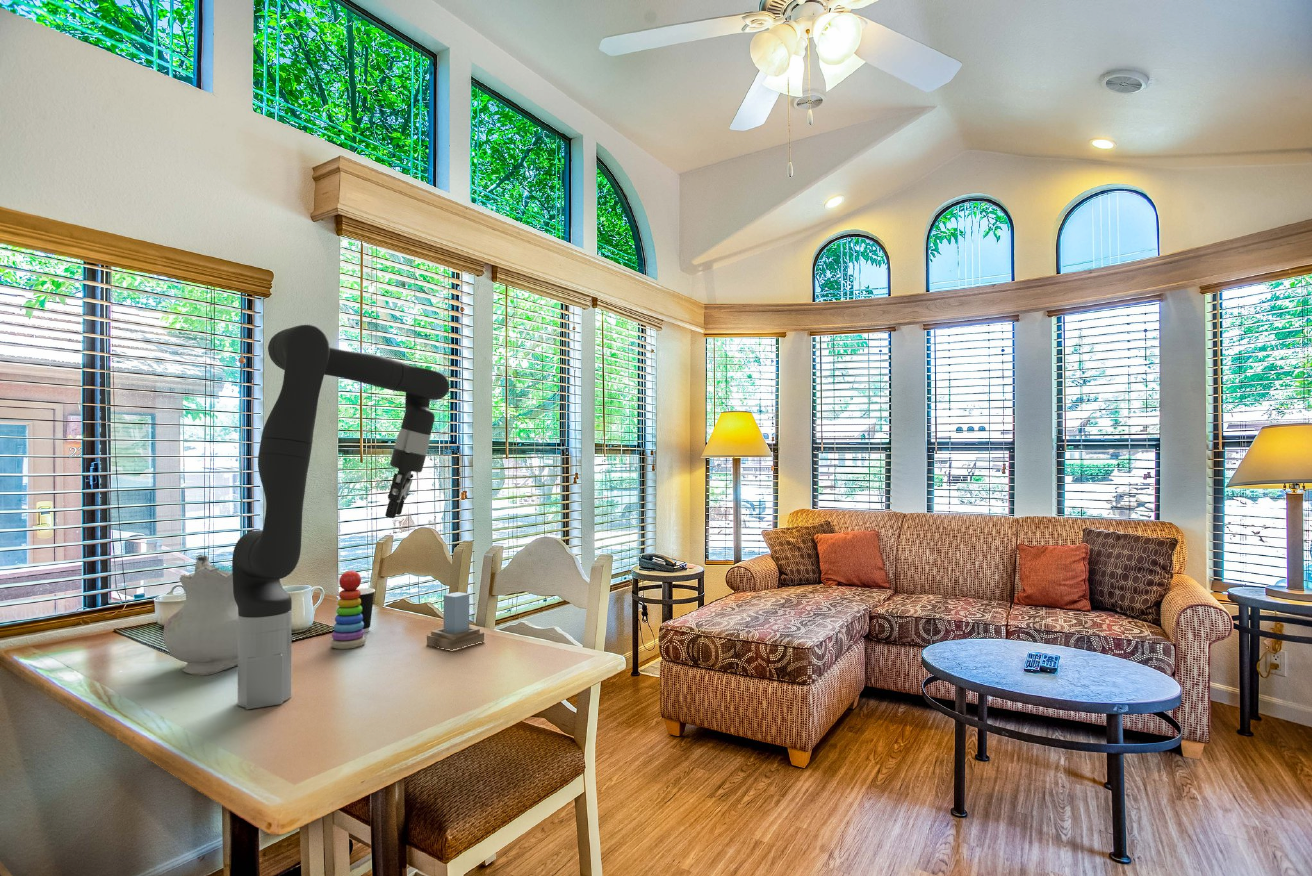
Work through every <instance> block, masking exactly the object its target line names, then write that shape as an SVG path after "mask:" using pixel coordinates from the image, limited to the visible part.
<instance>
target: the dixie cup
mask: <svg viewBox="0 0 1312 876" xmlns="http://www.w3.org/2000/svg"><path fill="white" fill-rule="evenodd" d="M357 590H359V591H360V592H361V595H360V596H359V597H358V598H359V599H360V600H361V604H360V606H361V607H362V612H361V614H362V615H363V619H362V621H363V623H364V627H363V628H362V629H363V630H364V634H365V633H368V632H369V631H370V627H371V622H372V615H373V607H374V606H373V605H374V597H375V592H376V589H375V588H370V587H358V588H357Z"/></svg>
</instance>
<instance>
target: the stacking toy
mask: <svg viewBox="0 0 1312 876" xmlns="http://www.w3.org/2000/svg"><path fill="white" fill-rule="evenodd" d="M338 582H339V587H340V589H342V590H341V591H339V593H338V597H339V599H338V601H337V603H336V604H337V606H338V607H337V608H336V609H335V611H336V612H335V613H336V615H335V618H334V621H335V623H334V624H333V630H334V631H333V632H332V633H331V639H332V640H331V641H330V646H331V647H332V648H333V649H339V650H349V649H355V648H359V647H361V646H363V645H364V644H365V643H366V638H365V636H364V635H365V633H364V630H363V629H362V628H363V627H364V623H363V621H362V619H363V615H362V614H361V612H362V607H361V606H360V604H361V600H360V599H359V598H358V597H359V596H360V595H361V592H360V591H359V590H357V589H358V588H360V585H361V583H362V578H361V575H360V574H359V573H358V572H357V571H354V570H349V571H346V572H343V573H342V574H341V576H339V581H338Z"/></svg>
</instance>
